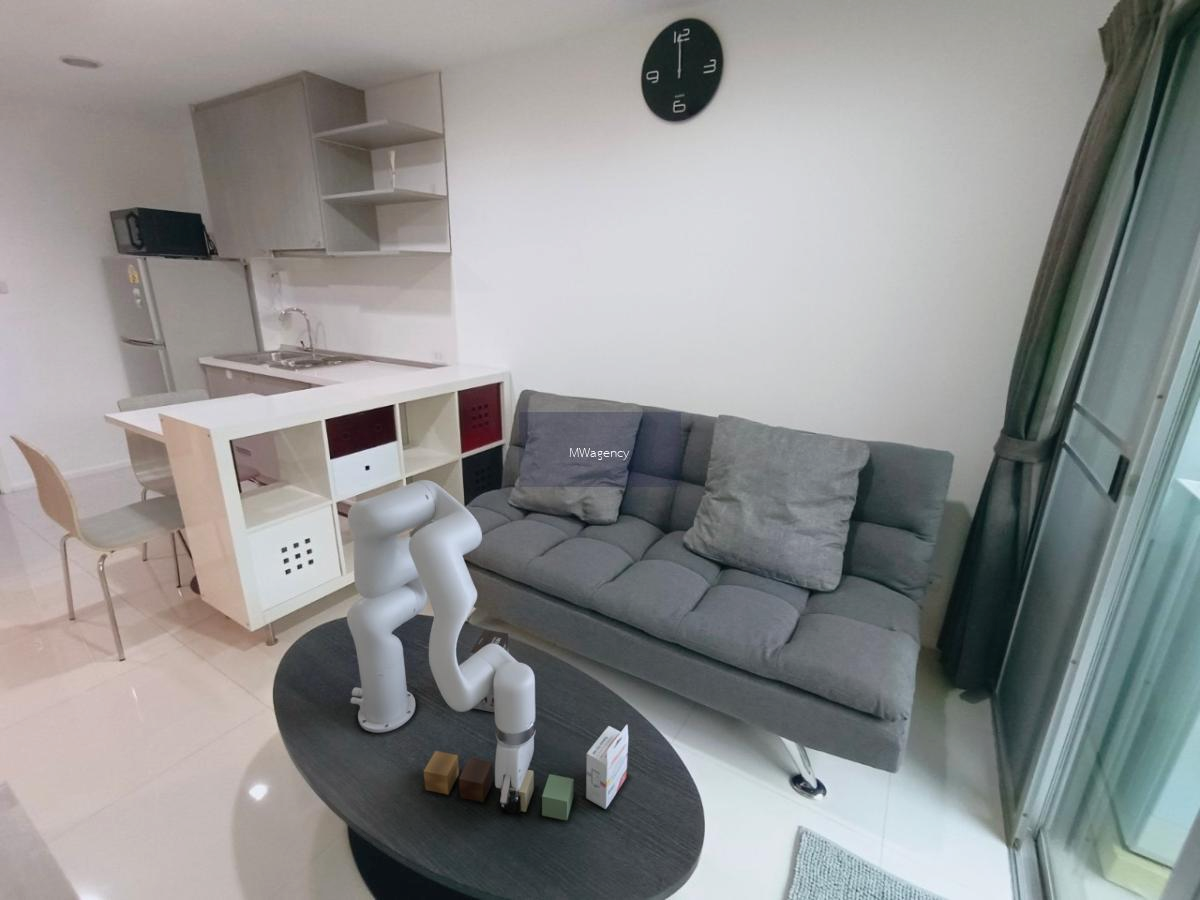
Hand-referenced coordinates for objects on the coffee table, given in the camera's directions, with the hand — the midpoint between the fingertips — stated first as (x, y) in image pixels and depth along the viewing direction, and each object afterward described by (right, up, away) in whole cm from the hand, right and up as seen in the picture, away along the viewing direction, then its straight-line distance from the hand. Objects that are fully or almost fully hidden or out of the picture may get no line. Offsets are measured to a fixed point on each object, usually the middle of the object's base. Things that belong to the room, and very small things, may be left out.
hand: (517, 796), depth 109 cm
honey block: (-16, +1, +3) cm, 16 cm away
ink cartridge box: (+18, 0, +3) cm, 18 cm away
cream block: (0, 0, 0) cm, 0 cm away
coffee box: (-10, +8, +25) cm, 28 cm away
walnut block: (-9, +1, +2) cm, 9 cm away
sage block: (+8, -1, -1) cm, 8 cm away
